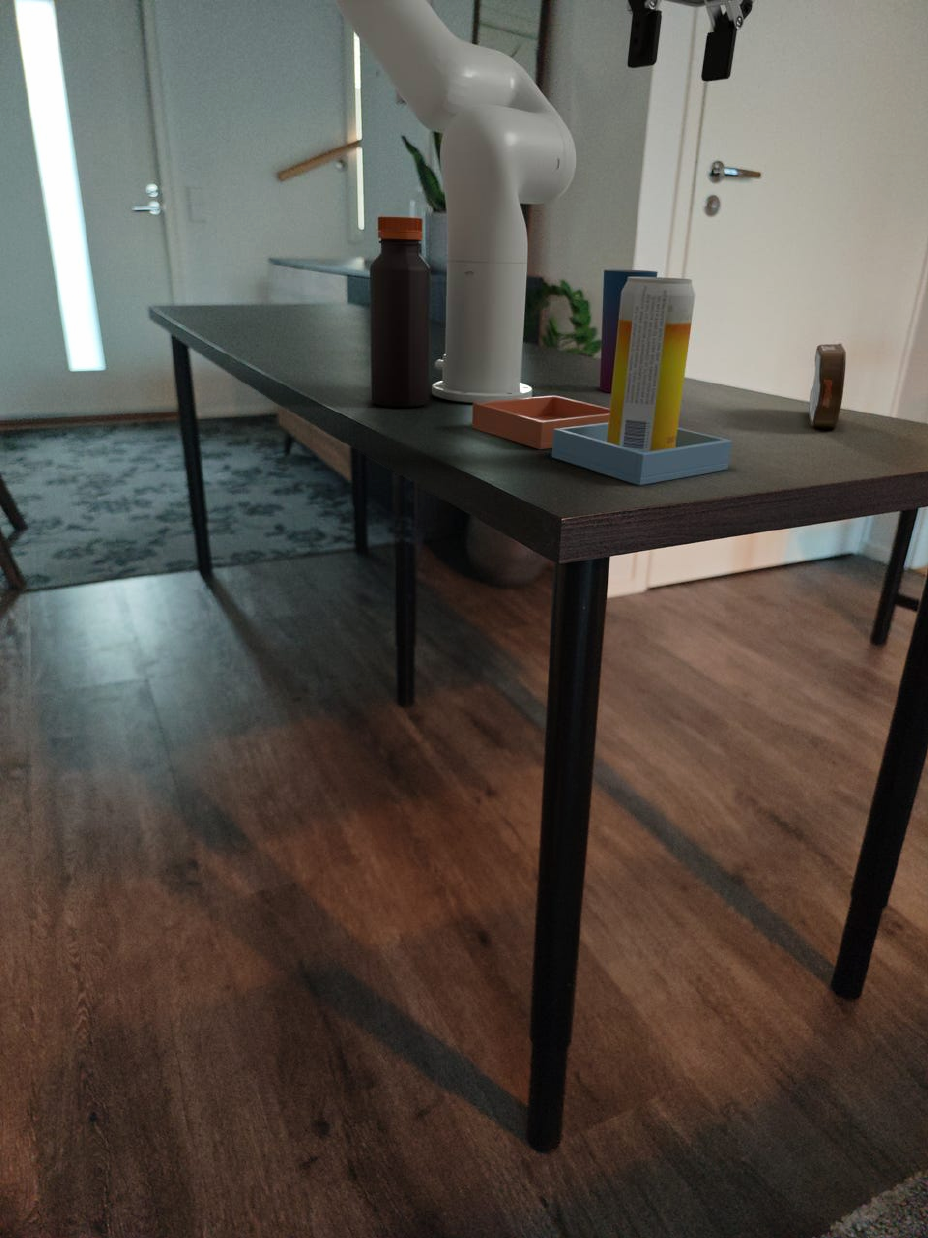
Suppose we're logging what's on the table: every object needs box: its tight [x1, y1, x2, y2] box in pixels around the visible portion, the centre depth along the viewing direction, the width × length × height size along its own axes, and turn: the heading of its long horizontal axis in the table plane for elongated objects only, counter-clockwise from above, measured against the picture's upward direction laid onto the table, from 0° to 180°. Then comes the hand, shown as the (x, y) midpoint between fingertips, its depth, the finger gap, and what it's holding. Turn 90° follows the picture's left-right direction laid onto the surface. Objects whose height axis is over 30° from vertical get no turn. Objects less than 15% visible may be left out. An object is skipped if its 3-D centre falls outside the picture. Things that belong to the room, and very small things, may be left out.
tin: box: [808, 342, 847, 430], centre depth 97 cm, size 15×3×8 cm, turn 161°
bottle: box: [369, 216, 432, 409], centre depth 97 cm, size 7×7×20 cm
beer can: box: [607, 276, 696, 452], centre depth 74 cm, size 6×6×15 cm
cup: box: [599, 268, 659, 393], centre depth 112 cm, size 7×7×15 cm
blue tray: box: [550, 422, 733, 486], centre depth 77 cm, size 11×11×3 cm
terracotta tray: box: [471, 394, 610, 451], centre depth 88 cm, size 11×11×3 cm
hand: (679, 73), depth 80 cm, fingers open, 9 cm apart
